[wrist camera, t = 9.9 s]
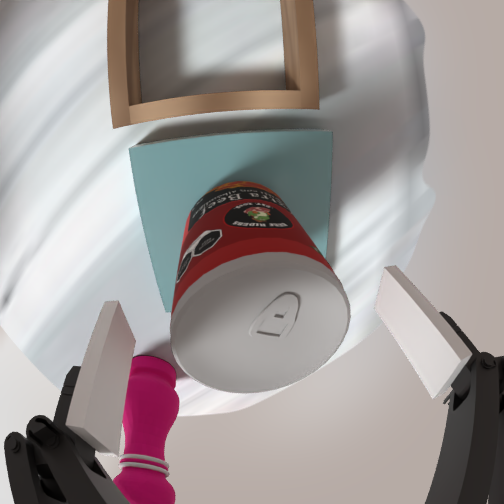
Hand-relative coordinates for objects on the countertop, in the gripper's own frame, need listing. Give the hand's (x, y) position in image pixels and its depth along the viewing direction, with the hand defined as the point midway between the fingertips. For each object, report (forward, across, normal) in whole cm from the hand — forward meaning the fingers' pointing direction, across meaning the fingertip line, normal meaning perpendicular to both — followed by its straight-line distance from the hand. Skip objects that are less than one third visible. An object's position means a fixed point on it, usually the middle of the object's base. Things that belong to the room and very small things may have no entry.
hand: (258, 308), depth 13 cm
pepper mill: (+11, +12, +18) cm, 24 cm away
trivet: (+11, 0, 0) cm, 11 cm away
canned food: (+9, 0, 0) cm, 9 cm away
